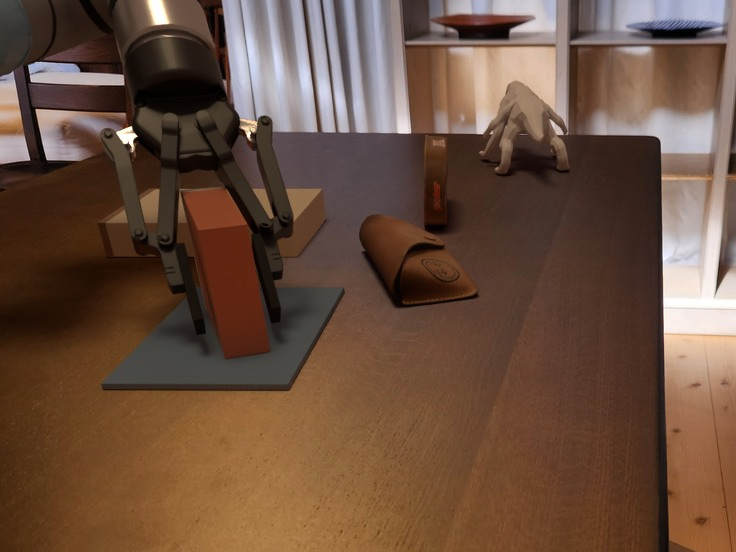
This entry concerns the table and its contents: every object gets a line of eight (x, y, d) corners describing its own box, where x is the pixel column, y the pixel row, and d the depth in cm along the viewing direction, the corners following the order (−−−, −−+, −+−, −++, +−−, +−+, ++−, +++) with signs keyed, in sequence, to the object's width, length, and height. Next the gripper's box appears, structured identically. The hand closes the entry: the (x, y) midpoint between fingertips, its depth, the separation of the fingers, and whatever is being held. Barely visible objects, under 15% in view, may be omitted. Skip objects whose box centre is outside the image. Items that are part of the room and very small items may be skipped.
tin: (426, 200, 110) (421, 127, 105) (451, 200, 110) (447, 127, 105) (423, 236, 97) (417, 155, 92) (452, 235, 97) (447, 154, 93)
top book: (224, 360, 69) (196, 229, 63) (205, 308, 78) (179, 190, 72) (271, 352, 70) (248, 222, 64) (247, 302, 79) (224, 185, 73)
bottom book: (106, 257, 92) (97, 222, 90) (156, 220, 104) (149, 188, 102) (297, 257, 91) (292, 222, 89) (326, 220, 103) (322, 188, 101)
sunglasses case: (485, 291, 81) (446, 231, 77) (424, 337, 81) (381, 280, 77) (437, 237, 95) (401, 184, 91) (384, 277, 95) (346, 226, 91)
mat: (102, 389, 66) (100, 383, 65) (196, 292, 83) (195, 286, 83) (288, 390, 65) (287, 384, 65) (344, 292, 82) (344, 286, 82)
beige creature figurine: (551, 147, 135) (552, 75, 129) (593, 187, 115) (596, 102, 109) (473, 151, 133) (470, 78, 128) (501, 192, 113) (499, 107, 107)
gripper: (280, 88, 80) (347, 323, 76) (61, 103, 74) (123, 359, 70) (282, 25, 73) (355, 282, 69) (40, 37, 67) (107, 318, 63)
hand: (238, 320), depth 70 cm, fingers open, 5 cm apart
